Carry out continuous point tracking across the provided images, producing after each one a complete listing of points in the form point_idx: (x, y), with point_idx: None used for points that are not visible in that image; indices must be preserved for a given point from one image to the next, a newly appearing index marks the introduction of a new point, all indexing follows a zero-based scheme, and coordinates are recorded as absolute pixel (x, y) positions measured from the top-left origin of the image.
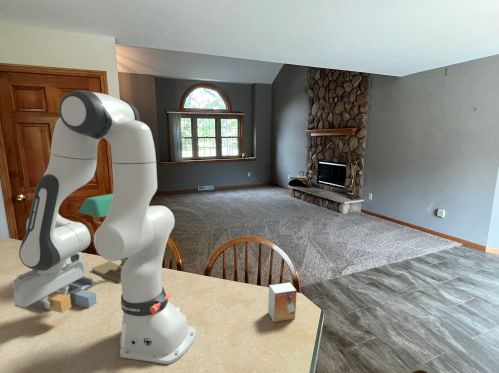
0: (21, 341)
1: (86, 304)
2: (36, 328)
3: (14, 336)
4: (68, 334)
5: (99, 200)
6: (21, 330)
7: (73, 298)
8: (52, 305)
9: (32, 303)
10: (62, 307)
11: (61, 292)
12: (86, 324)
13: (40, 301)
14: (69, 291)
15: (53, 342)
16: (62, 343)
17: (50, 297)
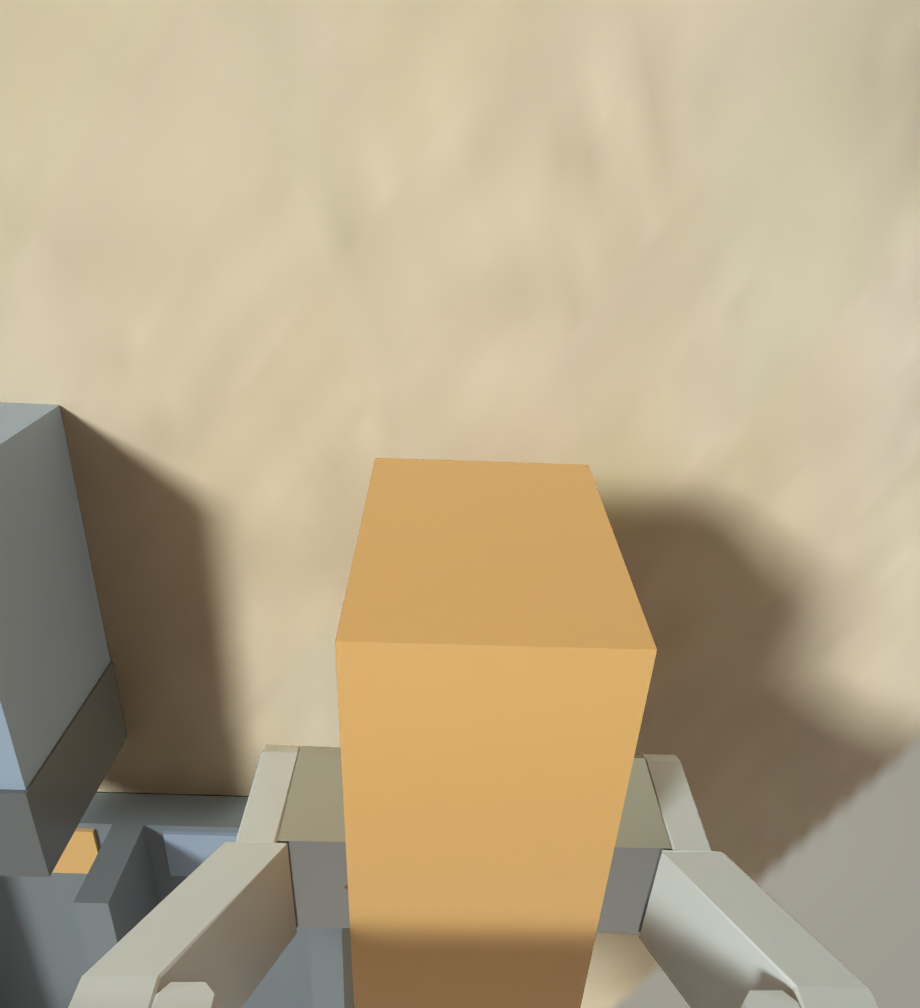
0: (882, 615)
1: (43, 480)
2: (654, 667)
3: (813, 747)
4: (669, 133)
5: None
6: (716, 769)
7: (79, 748)
8: None
9: None
10: (582, 525)
11: (277, 944)
12: (375, 46)
13: (347, 996)
14: (4, 912)
15: (867, 201)
16: (877, 18)
17: (542, 972)
